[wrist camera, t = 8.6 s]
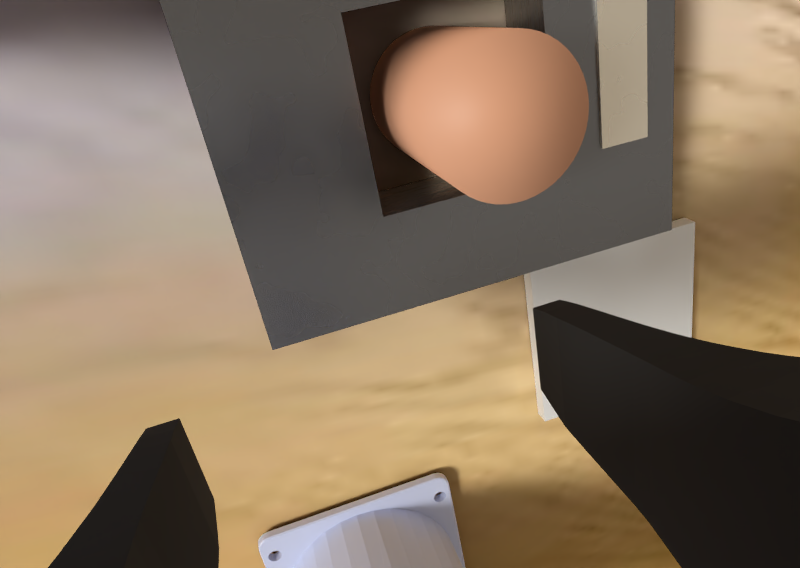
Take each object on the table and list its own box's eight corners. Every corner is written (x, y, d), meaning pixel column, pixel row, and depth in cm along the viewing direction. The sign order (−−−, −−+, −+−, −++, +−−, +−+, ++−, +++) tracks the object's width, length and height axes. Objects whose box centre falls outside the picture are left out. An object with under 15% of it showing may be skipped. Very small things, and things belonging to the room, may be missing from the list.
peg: (499, 134, 21) (597, 173, 15) (389, 172, 20) (452, 226, 15) (475, 9, 19) (578, 5, 14) (354, 47, 18) (412, 58, 13)
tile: (681, 363, 27) (690, 370, 27) (538, 413, 26) (544, 421, 25) (684, 217, 24) (695, 222, 24) (522, 265, 23) (530, 271, 22)
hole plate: (628, 210, 23) (673, 230, 21) (266, 315, 21) (273, 351, 19) (620, -171, 18) (680, -199, 16) (137, -88, 16) (124, -106, 13)
